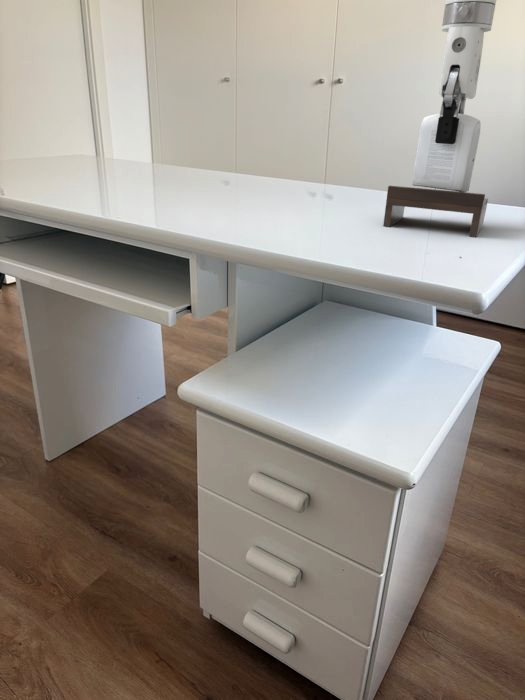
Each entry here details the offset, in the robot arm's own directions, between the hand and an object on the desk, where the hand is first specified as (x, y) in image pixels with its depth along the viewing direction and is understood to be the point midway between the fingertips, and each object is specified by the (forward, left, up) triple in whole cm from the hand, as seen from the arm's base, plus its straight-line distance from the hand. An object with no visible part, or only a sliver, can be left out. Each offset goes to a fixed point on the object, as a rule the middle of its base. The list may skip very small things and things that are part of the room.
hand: (447, 141), depth 92 cm
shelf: (0, 0, -15) cm, 15 cm away
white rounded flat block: (0, 0, -8) cm, 8 cm away
